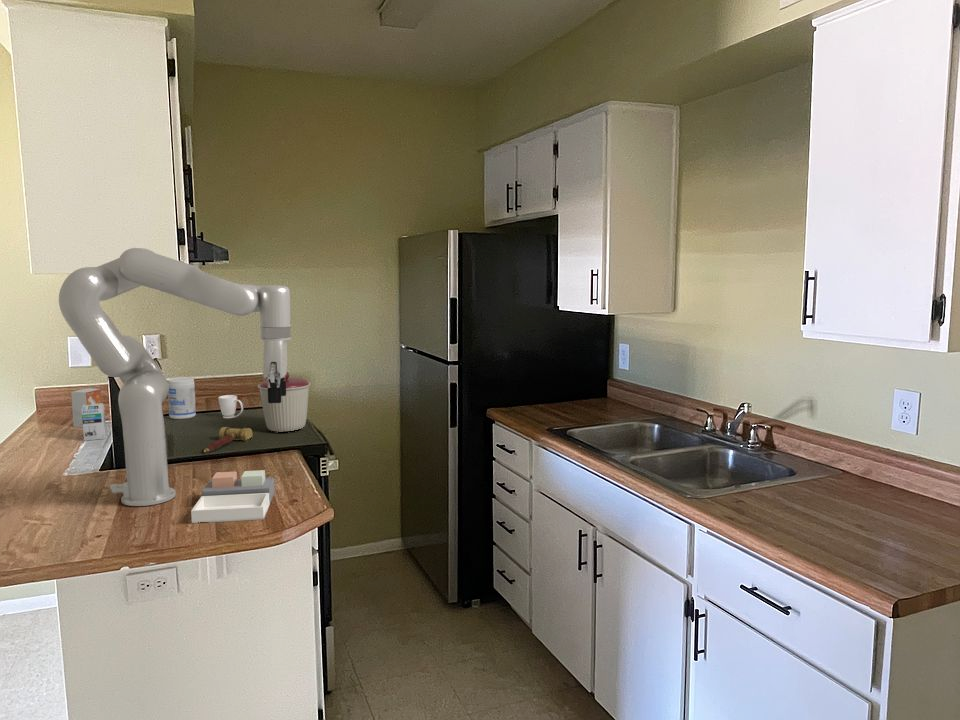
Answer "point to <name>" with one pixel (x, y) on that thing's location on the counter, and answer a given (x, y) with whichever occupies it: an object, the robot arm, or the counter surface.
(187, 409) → the supplement tub
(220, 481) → the tile
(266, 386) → the canister
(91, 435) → the light bulb box
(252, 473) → the tile
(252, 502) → the tray
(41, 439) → the counter surface
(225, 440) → the gavel
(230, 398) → the cup
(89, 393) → the small box
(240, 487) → the plate
